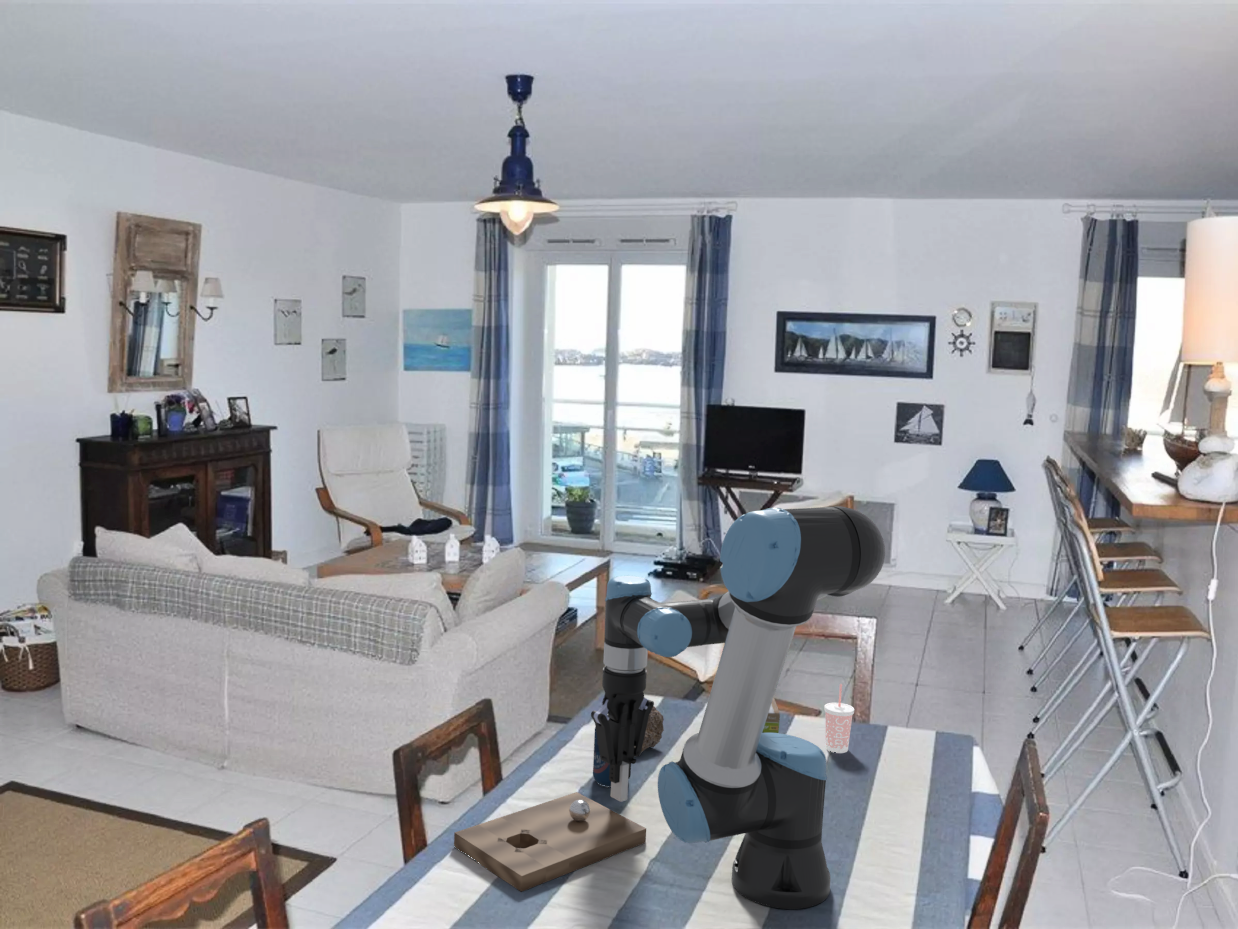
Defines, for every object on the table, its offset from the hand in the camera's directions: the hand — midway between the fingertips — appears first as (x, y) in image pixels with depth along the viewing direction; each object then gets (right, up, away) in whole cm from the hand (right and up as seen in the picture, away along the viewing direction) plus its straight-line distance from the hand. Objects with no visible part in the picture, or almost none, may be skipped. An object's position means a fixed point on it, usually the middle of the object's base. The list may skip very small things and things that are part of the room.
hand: (618, 798), depth 188 cm
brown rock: (+3, 0, +34) cm, 34 cm away
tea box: (+25, -2, +25) cm, 35 cm away
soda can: (-1, -2, +17) cm, 17 cm away
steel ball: (-7, 0, -6) cm, 9 cm away
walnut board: (-11, -5, -10) cm, 16 cm away
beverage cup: (+45, -2, +38) cm, 59 cm away
